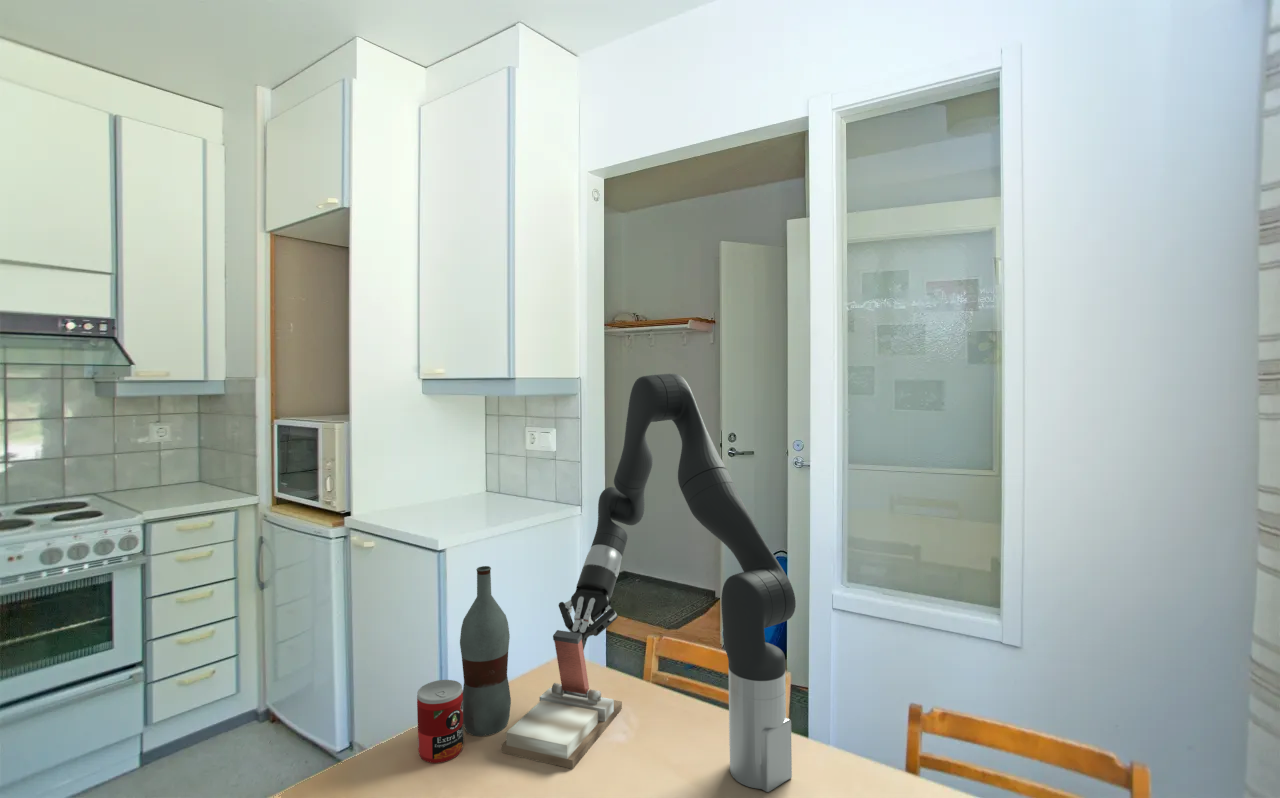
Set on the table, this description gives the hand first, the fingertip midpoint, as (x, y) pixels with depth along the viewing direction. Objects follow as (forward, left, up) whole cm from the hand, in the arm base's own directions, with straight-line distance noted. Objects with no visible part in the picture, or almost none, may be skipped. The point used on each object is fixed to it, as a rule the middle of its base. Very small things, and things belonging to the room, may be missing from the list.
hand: (574, 653), depth 121 cm
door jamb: (-2, +3, -13) cm, 13 cm away
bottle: (+10, +14, -13) cm, 21 cm away
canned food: (+7, +24, -13) cm, 28 cm away
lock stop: (+1, -1, -8) cm, 8 cm away
